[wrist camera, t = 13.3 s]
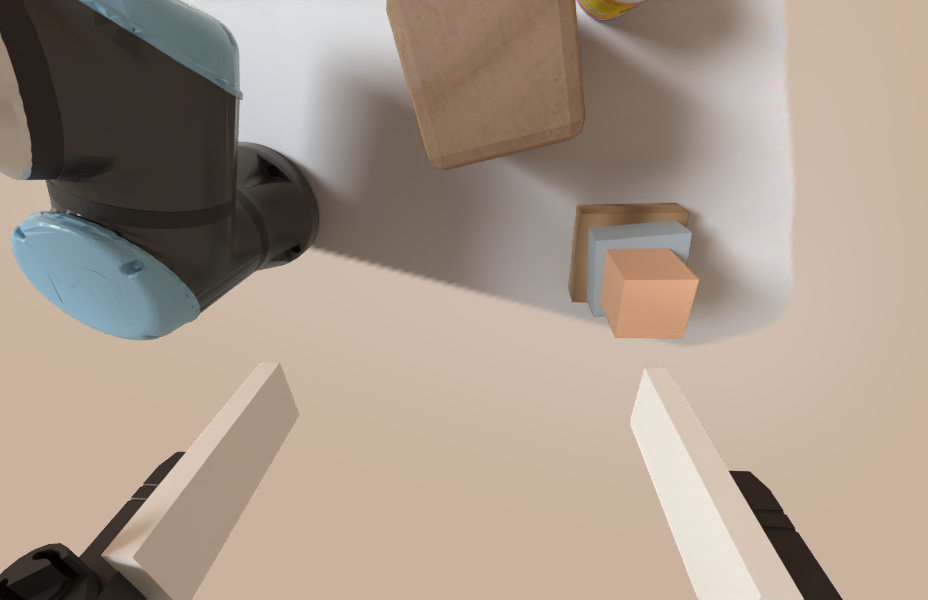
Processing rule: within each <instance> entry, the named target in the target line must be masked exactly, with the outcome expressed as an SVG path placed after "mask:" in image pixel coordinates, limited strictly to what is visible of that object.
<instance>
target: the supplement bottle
mask: <svg viewBox="0 0 928 600" xmlns="http://www.w3.org/2000/svg"><path fill="white" fill-rule="evenodd" d="M576 1H577V3H578V5H579V6H580V8H581V9H582V10H583V11H584V12H585V13H586V14H587V15H589V16H591V17H593V18H595V19H600V20H609V19H613V18H616V17H619V16H621V15H623V14H624V13H626V12H628V11H630V10H631V9H633V8H634V7H636V6H638V5H639V4H641V3H643V2H644V1H646V0H576Z"/></svg>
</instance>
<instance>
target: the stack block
mask: <svg viewBox="0 0 928 600" xmlns="http://www.w3.org/2000/svg"><path fill="white" fill-rule="evenodd" d="M698 283H699V279H698V278H697V277H696V276H695V275H694V274H693V273H692V272H691V271H690V270H689V268H688V267H687V266H686V265H685V264H684V263H683V262H682V261H681V260H680V259H679V258H678V257H677V256H676V255H675V254H674V253H673V252H672V251H671V250H670V249H669V248H654V249H606V256H605V264H604V271H603V279H602V286H601V294H600V303H601V305H602V308H603V310H604V312H605V315H606V317H607V319H608V322H609V324H610V327H611V329H612V331H613V334H614V336H615V338H683V337H684V334H685V330H686V326H687V323H688V319H689V315H690V312H691V308H692V304H693V301H694V297H695V294H696V290H697V286H698Z"/></svg>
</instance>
